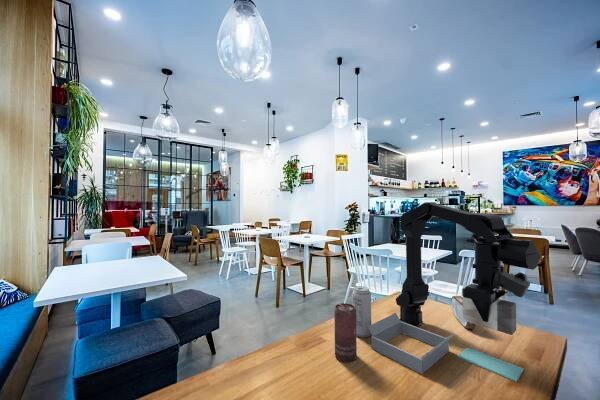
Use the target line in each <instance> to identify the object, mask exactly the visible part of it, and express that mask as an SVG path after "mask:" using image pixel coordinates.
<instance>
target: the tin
mask: <svg viewBox="0 0 600 400" xmlns="http://www.w3.org/2000/svg"><path fill="white" fill-rule="evenodd" d="M451 309H452V313H453V316H454V317H455V319H456V321H458V323H460V325H461V326H462V327H463V328H465V329H472V330H473V329H475V328H476V325H477V324H474V323H471V322H468V321H464V320H463V296H462V295H453V296H451Z"/></svg>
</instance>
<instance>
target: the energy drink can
mask: <svg viewBox="0 0 600 400" xmlns="http://www.w3.org/2000/svg"><path fill="white" fill-rule="evenodd" d="M351 296H352V299H351V300H352V305H353V306H354V307H355V309H356V337H358V338H369V337H370V336H371V335H372V334H371V332H370V331H369V329H368V326H370V325H372V293H371V292H370V288H369V287H367V286H365V285H364V286H363V285H357V286H354V288H353V290H352V295H351Z"/></svg>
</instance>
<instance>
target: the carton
mask: <svg viewBox="0 0 600 400" xmlns="http://www.w3.org/2000/svg"><path fill="white" fill-rule="evenodd" d="M397 314H398V313H396V312H395V313H392V314H390V315H389V316H386V317H385V318H382V319H380V320H378V321H376V322H374V323H371V325H370V326H368V329H369V331H370V332H371V334H370V335H371V338H370V339H371V343H370V344H371V345H370V348H371V350H374V351H375V352H377V353H380V354H382V355H383V356H385V357H387V358H389V359H391V360H394V361H395V362H397V363H399V364H401V365H403V366H404V367H407V368H409V369H411V370H413V371H415V372H417V373H418V374H421V375H423V374H424V373H425V372H426V371H427V370H428V369H430V368H431V367H432V366H433V365H435V364H436V363H437V362H438V361H439V360H440V359H441V358H443V357H444V356H445V355H446V354H448V353H449V351H450V342H449V341H450V339H451V338H452V337H453V336H455V333H454V332H452V333H451V334H449V336H447V337H444V336H442V335H439V334H437V333H434V332H432V331H431V332H430V331H428V330H425V329H423V328H420V327H418V326H417V327H415V326H413V325H410V324H407V323H404V322H402V321H400V316H398V315H397ZM400 334H404V335H405V336H407V337H411V338H413V339H416V340H418V341H421V342H423V343H426V344H428V345H430V346H433V348H432V349H430V350H429V351H427V352H426V353H425V354H424V355H423V356H421V357H418V355H414V354H413V353H410V352H408V351H406V350H404V349H402V348H399V347H397V346H395V345H393V344H391V343H388V341H390V340H392V339H393V338H395V337H397V336H399V335H400Z"/></svg>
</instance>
